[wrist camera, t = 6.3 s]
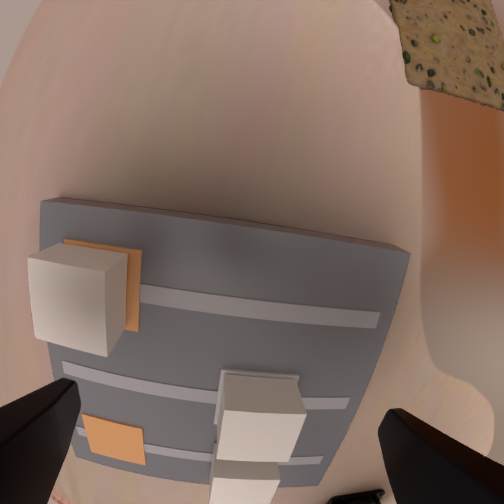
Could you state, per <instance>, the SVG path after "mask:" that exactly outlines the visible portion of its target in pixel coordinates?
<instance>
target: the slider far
mask: <svg viewBox="0 0 504 504" xmlns="http://www.w3.org/2000/svg"><path fill="white" fill-rule="evenodd" d="M216 455H217V443H214V450H213V457H212V464H211V471H210V490H209V504H270V502H271V500H272V498H273V496H274V494H275V491H276V489H277V487H278V485H279V482H280V474H279V468H278V463H277V462H255V461H235V460H222V459H216Z"/></svg>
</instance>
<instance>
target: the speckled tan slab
mask: <svg viewBox="0 0 504 504" xmlns="http://www.w3.org/2000/svg"><path fill="white" fill-rule="evenodd" d="M389 4H390V6H389V10H390V12H391V13H392V18H393V21H394V23H395V25H396V26H397V27H398V29H399V34H400V41H401V46H402V51H403V58H404V62H405V74H406V78H407V81H408V83H409V84H411V85H413V86H418V87H419V89H421V90H427V89H428V90H432V91H436V92H441V93H445V94H448V95H452V96H454V97H459V98H463V99H465V100H468V101H471V102H474V103H479V104H480V105H481V106H485V105H486V106H488V107H491V108H494V109H496V110H501V111H504V42H503V39H502V35H501V31H500V28H499V26H498V22H497V19H496V15H495V13H494V10H493V6H492V4H491V1H490V0H389Z"/></svg>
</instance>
